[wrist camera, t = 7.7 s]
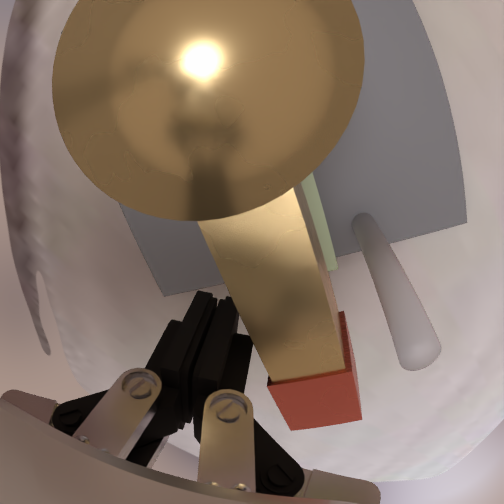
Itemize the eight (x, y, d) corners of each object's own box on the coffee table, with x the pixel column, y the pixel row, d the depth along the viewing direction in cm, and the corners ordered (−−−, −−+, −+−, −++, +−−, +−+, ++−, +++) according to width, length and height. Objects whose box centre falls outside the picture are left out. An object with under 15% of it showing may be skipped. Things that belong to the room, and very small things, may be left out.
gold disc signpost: (97, 39, 8) (31, 27, 5) (288, -49, 6) (281, -106, 3) (247, 377, 14) (234, 438, 11) (405, 345, 12) (423, 408, 9)
